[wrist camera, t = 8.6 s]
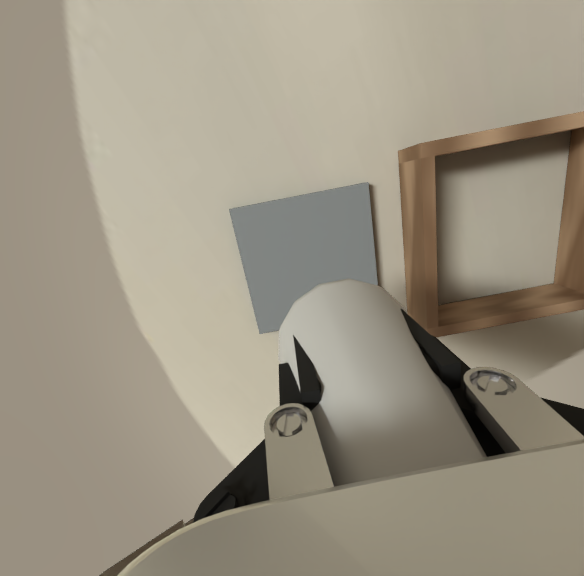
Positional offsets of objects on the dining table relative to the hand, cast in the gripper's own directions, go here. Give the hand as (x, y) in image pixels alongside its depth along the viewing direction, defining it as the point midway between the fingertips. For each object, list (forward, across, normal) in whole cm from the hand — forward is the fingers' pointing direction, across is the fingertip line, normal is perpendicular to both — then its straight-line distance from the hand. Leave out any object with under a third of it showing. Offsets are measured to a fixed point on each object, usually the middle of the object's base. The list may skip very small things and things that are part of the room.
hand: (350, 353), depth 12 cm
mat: (+16, 0, 0) cm, 16 cm away
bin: (+16, -17, 0) cm, 23 cm away
